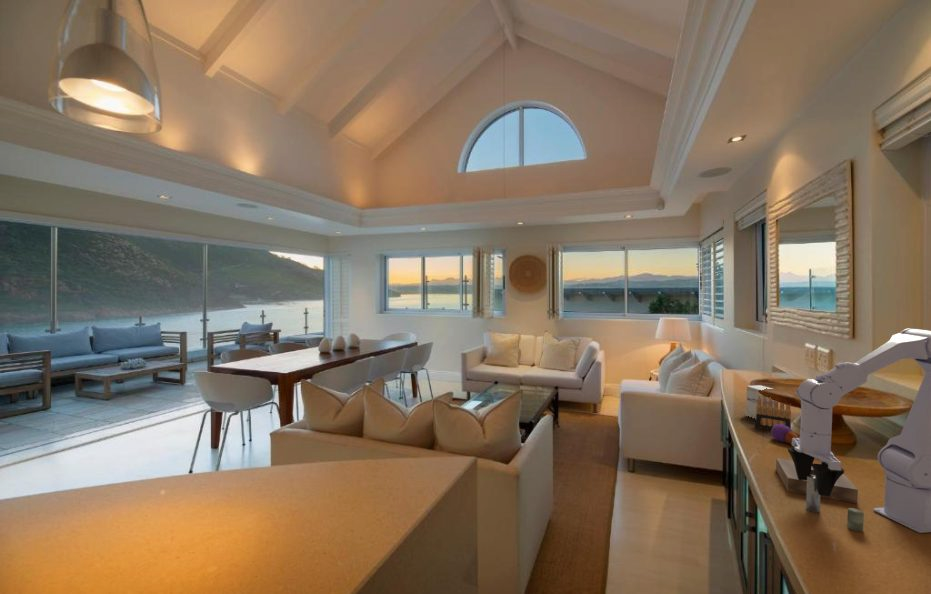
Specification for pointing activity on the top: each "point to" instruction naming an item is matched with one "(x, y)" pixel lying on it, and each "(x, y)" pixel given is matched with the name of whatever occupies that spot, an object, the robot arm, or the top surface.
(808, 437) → the robot arm
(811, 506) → the long pin
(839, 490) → the hole board
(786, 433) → the purple and brown maraca
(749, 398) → the supplement box
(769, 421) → the ammunition clip
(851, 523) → the green rectangular block
